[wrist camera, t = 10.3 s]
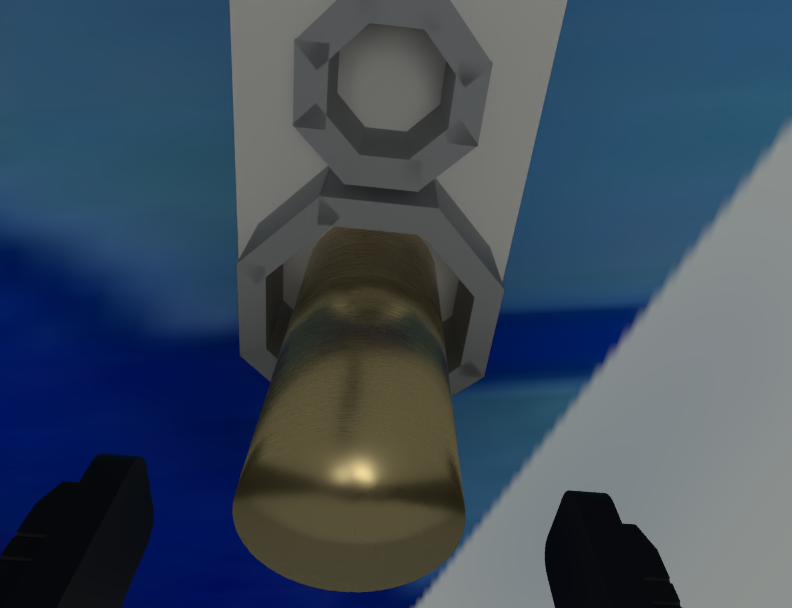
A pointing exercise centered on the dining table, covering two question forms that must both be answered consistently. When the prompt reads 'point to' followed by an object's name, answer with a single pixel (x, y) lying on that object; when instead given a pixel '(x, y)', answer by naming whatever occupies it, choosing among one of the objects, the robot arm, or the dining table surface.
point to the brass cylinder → (357, 425)
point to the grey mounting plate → (385, 147)
